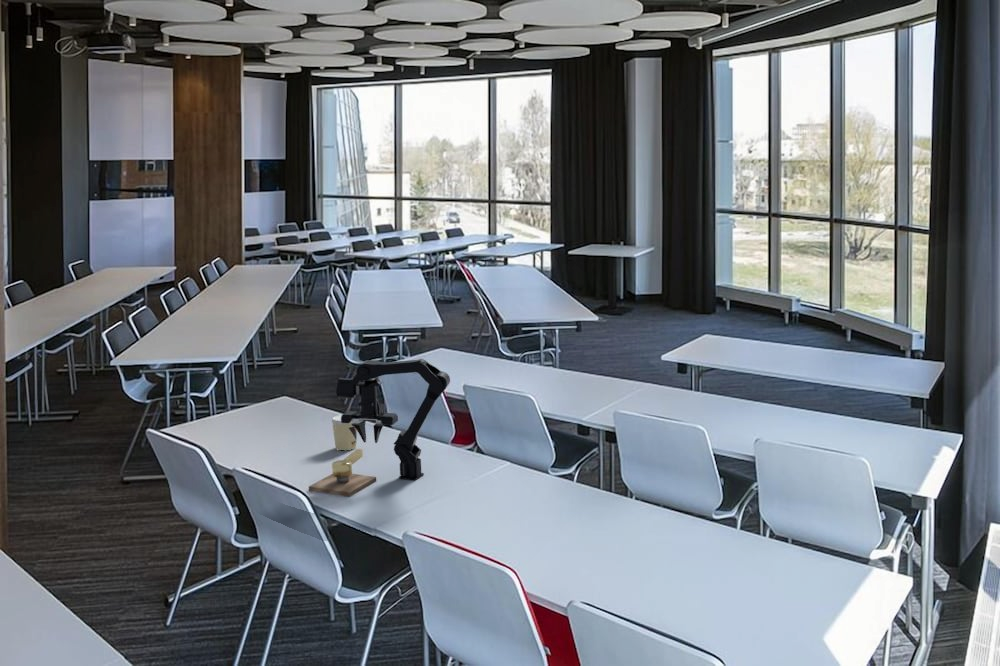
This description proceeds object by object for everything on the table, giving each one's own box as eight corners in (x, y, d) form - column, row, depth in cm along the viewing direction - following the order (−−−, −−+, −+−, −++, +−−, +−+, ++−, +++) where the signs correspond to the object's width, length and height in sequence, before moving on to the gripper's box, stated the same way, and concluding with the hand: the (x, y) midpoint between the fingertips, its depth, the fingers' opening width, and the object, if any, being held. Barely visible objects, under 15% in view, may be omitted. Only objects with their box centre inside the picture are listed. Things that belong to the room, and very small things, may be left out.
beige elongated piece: (347, 478, 302) (346, 466, 301) (329, 477, 304) (328, 465, 303) (368, 460, 319) (368, 449, 319) (351, 459, 321) (351, 448, 320)
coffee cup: (356, 451, 344) (354, 420, 342) (331, 452, 344) (329, 421, 342) (360, 444, 353) (358, 414, 351) (336, 444, 353) (334, 414, 351)
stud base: (376, 481, 311) (375, 470, 310) (349, 496, 296) (349, 485, 296) (336, 475, 317) (336, 465, 317) (308, 490, 303) (308, 480, 302)
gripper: (402, 393, 316) (404, 437, 319) (352, 391, 321) (354, 434, 324) (390, 401, 306) (393, 446, 308) (339, 399, 310) (341, 443, 313)
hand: (370, 442), depth 314 cm, fingers open, 4 cm apart
